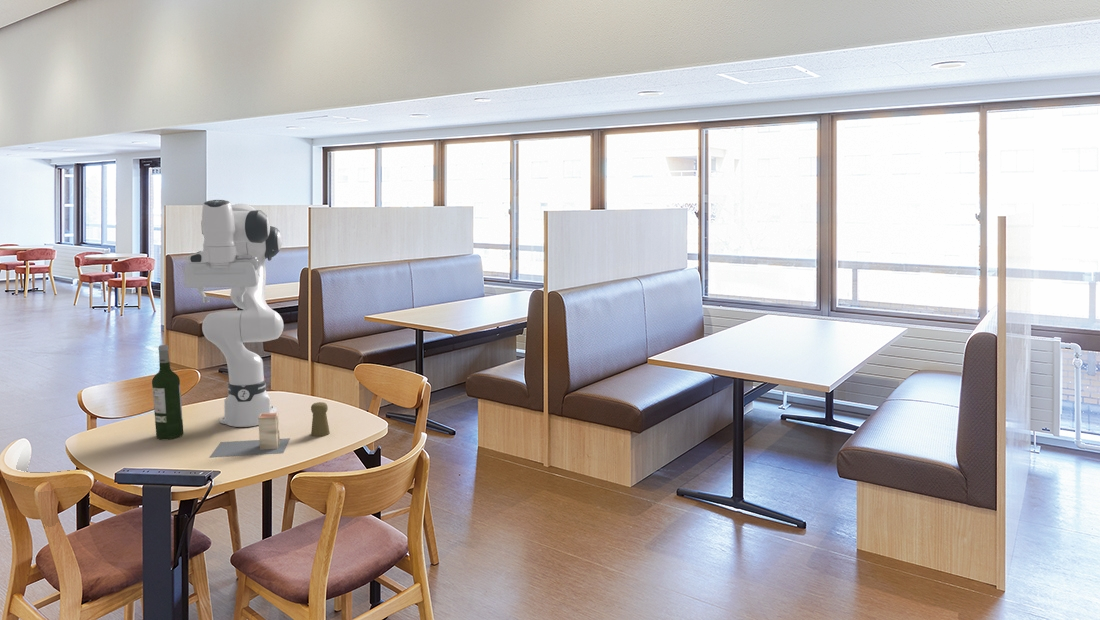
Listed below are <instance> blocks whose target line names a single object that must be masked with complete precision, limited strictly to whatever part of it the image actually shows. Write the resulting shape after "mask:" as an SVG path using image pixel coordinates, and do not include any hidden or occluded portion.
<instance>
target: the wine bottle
mask: <svg viewBox="0 0 1100 620" xmlns="http://www.w3.org/2000/svg"><path fill="white" fill-rule="evenodd" d="M157 348H158V360H159V364H158V365H159V371H158V372H157V373H156V374H155V375H154V376H153V378H152V380H151V389H152V398H153V409H154V410H153V411H154V423H155V424H154V425H155V436H156V438H157V439H158V440H162V439H168V440H173V439H174V438H175V439H177V438H180V436H181V437H182V436H183V435H184V424H183V423H184V419H183V408H182V407H183V406H182V396H181V395H182V394H181V393H182V392H181V380H180V377H179V376H178V374H177V373H176V372H174V371H173V370H171V369H172V368H171V364H170V357H169V346H168V345H167V344H160V345H158V347H157Z"/></svg>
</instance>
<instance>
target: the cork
mask: <svg viewBox="0 0 1100 620" xmlns="http://www.w3.org/2000/svg"><path fill="white" fill-rule="evenodd" d="M310 411H311V413H312V420H311V432H310V435H311V436H312V437H314V438H319V437H326V436H329V435H330V433H331V431H330V427H329V426H330V425H329V422H328V416H327V412H328V404H327V403H326V402H321V401H319V402H314V403H313V404H312V405H311V407H310Z"/></svg>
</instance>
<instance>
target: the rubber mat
mask: <svg viewBox="0 0 1100 620" xmlns="http://www.w3.org/2000/svg"><path fill="white" fill-rule="evenodd" d="M290 440H291V438H289V437H288V438H280V444H279V446H278V448H277V449H262V450H260V440H259V439H253V440H251V439H250V440H235V441H220V442H219V444H218V445H217V447H215V449H214V450H213V451H212V453H211V455H210V456H209V458H225V457H238V456H239V457H243V456H259V455H260V456H261V455H277V454H278V455H279V454H284V452H285V450H286V449H287V448H288V447H287V446H288V444H289V442H290Z"/></svg>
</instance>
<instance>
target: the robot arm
mask: <svg viewBox="0 0 1100 620" xmlns="http://www.w3.org/2000/svg"><path fill="white" fill-rule="evenodd" d="M200 222H201V223H200V224H201V226H200V227H201V234H202V235H203V245H202V247H203V248H202V249H203V250H200V251H199V250H198V251H196V252H195V253H191V254H189V255H187V256H186V263H187V264H186V265H185V266H184V272H183V284H184V286H185V287H186V288H187V289H196V288H197V292H198V294H199V295H200V297H202V303H203V304H208V303H210V296H209V295H206V293H205V292H204V291H205V290H206V288H230V294H229V295H230V296H229V297H230V300H231V302H232V304H234V305H235V306H236V307H237V308H239V310H238V309H237V310H220V311H214V312H210V313H208V314H207V315H206V316H205V318H204V319H203V320H202V325H201V329H202V334H203V335H204V338H205V339H206V340H208V341H209V342H211V343H212V344H213V345H215V346H216V347H217V348H218V349H219V350H220V352H221V353H222V355H223V356H224V358H225V361H226V364H227V366H226V367H227V373H228V383H227V391H228V395H227V397H225V399H224V405H223V406H224V408H223V409H224V417H222V418H220V419H219V424H225V425H227V426H230V427H238V428H244V427H245V428H247V427H256V426H259V423H258V418H259V416H260V415H261V413H278V412H277V406H274V405H271V398H270V395H269V393H268V391H267V384H266V380H265V377H264V376H265V375H264V361H263V358H262V357H261V356H260V355H259V354H258V353H256V352H253V351H251V350H249V349H247V348H246V347H245V345H244V343H263V342H264V343H265V342H269V341H274V340H277V339H279V338H280V336H281V335H282V333H283V331H284V327H285V325H284V320H283V317H282V316H281V315H280V313H278V312H277V311H276V310H274V309H272V308H271V307H270V306H269V305H268V303H267V301H266V284H267V272H266V271H267V269H266V263H265V262H266V259H267V260H268V261H271V260H272V258H273V257H275V256H277V254H278V253H279V252H280V250H281V247H282V244H283V238H282V235H281V234H282V233H280V229H278V228H277V227H276V226H272V225H270V220H269V217H268V215H267V213H266V212H264V211H262V210H259V209H258V210H257V209H256V208H255V207H253V206H251V205H250V204H247V203H236V204H233V205H232V203H231V202H230V201H228V200H225V199H212V200H211V199H210V200H207V201H205V202H204V203H203V205H202V209H201V221H200ZM240 309H241V310H240Z"/></svg>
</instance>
